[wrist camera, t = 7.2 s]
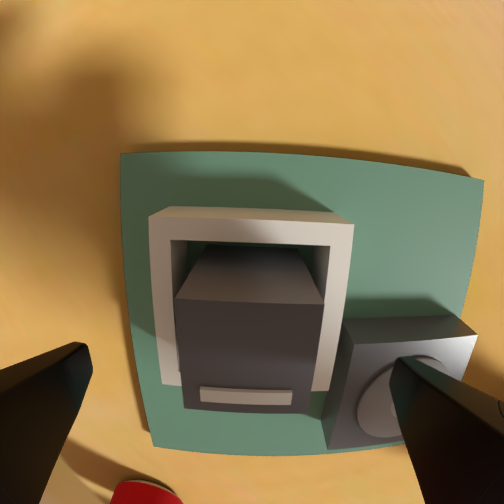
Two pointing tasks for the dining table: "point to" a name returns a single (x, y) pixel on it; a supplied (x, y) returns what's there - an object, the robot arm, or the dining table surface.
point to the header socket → (253, 231)
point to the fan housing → (385, 372)
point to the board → (360, 272)
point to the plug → (248, 331)
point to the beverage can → (143, 493)
